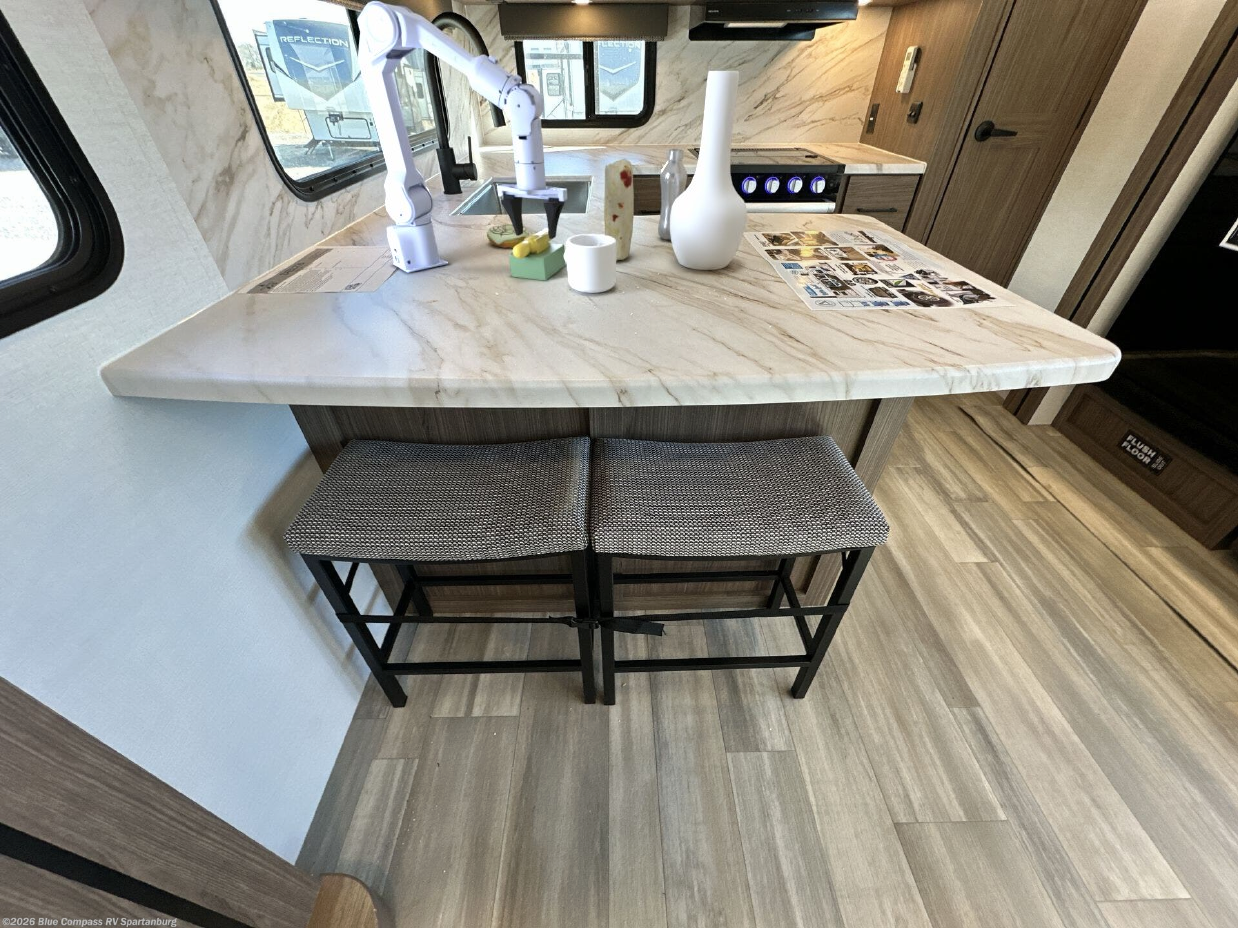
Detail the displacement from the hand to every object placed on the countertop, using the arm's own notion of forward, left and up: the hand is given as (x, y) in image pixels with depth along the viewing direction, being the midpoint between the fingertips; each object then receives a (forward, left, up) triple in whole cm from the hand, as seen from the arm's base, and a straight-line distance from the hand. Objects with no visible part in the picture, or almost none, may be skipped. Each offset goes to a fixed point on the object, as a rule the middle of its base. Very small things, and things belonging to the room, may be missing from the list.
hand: (535, 236), depth 107 cm
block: (0, 0, -7) cm, 7 cm away
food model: (+20, -4, -7) cm, 22 cm away
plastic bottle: (+41, -1, -7) cm, 42 cm away
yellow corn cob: (0, 0, -3) cm, 3 cm away
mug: (+3, -15, -7) cm, 17 cm away
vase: (+32, -20, -7) cm, 38 cm away
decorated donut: (+7, +23, -7) cm, 25 cm away
